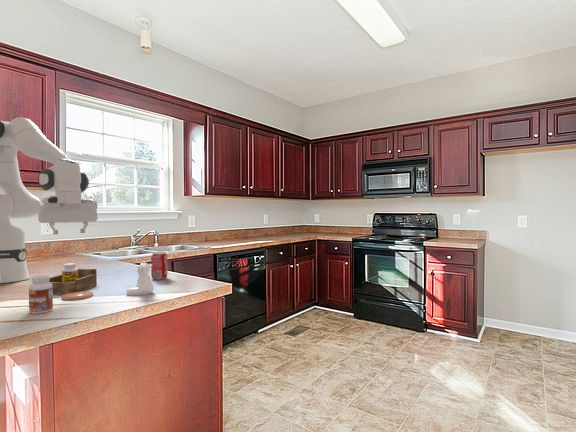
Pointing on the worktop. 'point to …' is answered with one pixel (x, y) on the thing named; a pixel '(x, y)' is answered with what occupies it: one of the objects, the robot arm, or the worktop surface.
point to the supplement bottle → (69, 273)
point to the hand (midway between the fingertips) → (69, 233)
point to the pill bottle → (40, 295)
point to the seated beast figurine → (142, 281)
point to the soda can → (159, 265)
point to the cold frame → (84, 281)
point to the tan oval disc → (77, 295)
